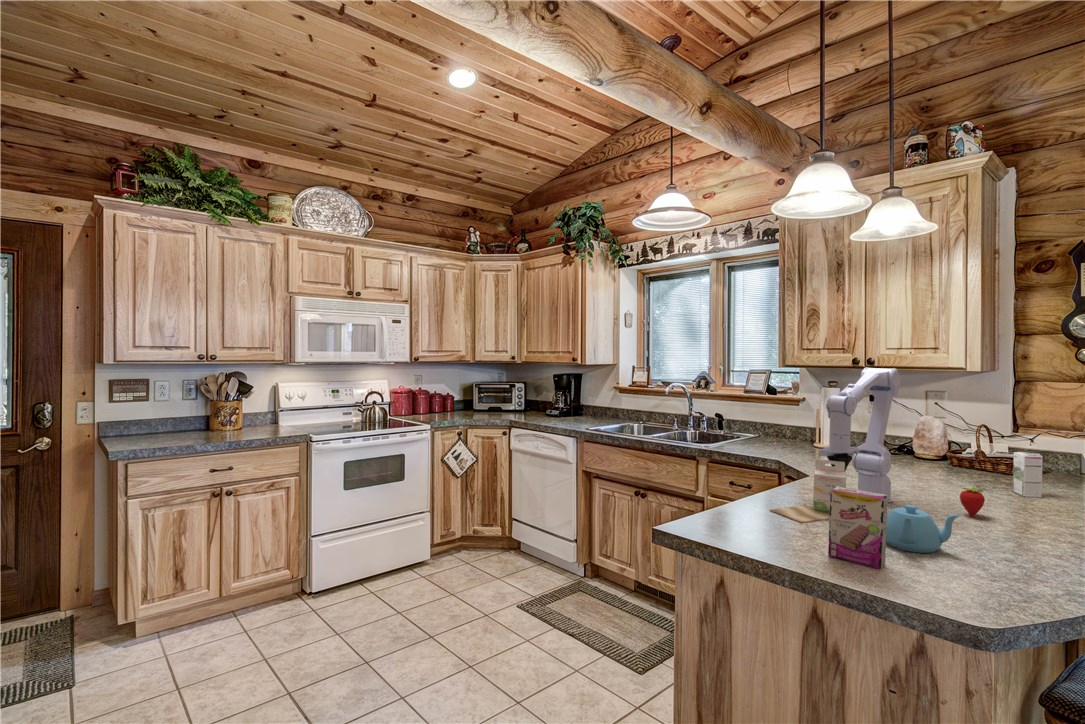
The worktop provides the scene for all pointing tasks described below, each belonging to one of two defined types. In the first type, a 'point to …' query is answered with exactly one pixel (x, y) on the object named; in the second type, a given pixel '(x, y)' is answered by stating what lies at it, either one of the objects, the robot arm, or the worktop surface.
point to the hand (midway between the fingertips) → (838, 478)
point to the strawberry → (972, 500)
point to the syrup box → (1027, 474)
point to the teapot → (916, 530)
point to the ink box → (827, 482)
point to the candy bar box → (858, 526)
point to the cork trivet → (802, 514)
